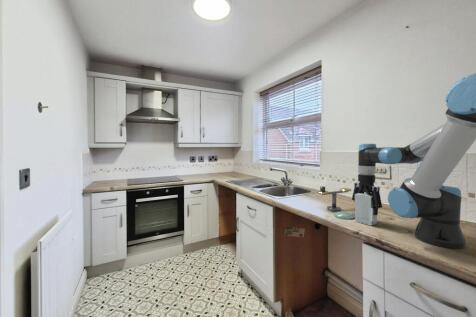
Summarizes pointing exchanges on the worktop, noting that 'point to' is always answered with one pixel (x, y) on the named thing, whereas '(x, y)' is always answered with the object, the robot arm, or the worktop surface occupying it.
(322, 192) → the balance beam
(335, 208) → the post
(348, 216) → the dish green
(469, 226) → the worktop surface
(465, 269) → the worktop surface
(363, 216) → the skincare box
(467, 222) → the worktop surface
